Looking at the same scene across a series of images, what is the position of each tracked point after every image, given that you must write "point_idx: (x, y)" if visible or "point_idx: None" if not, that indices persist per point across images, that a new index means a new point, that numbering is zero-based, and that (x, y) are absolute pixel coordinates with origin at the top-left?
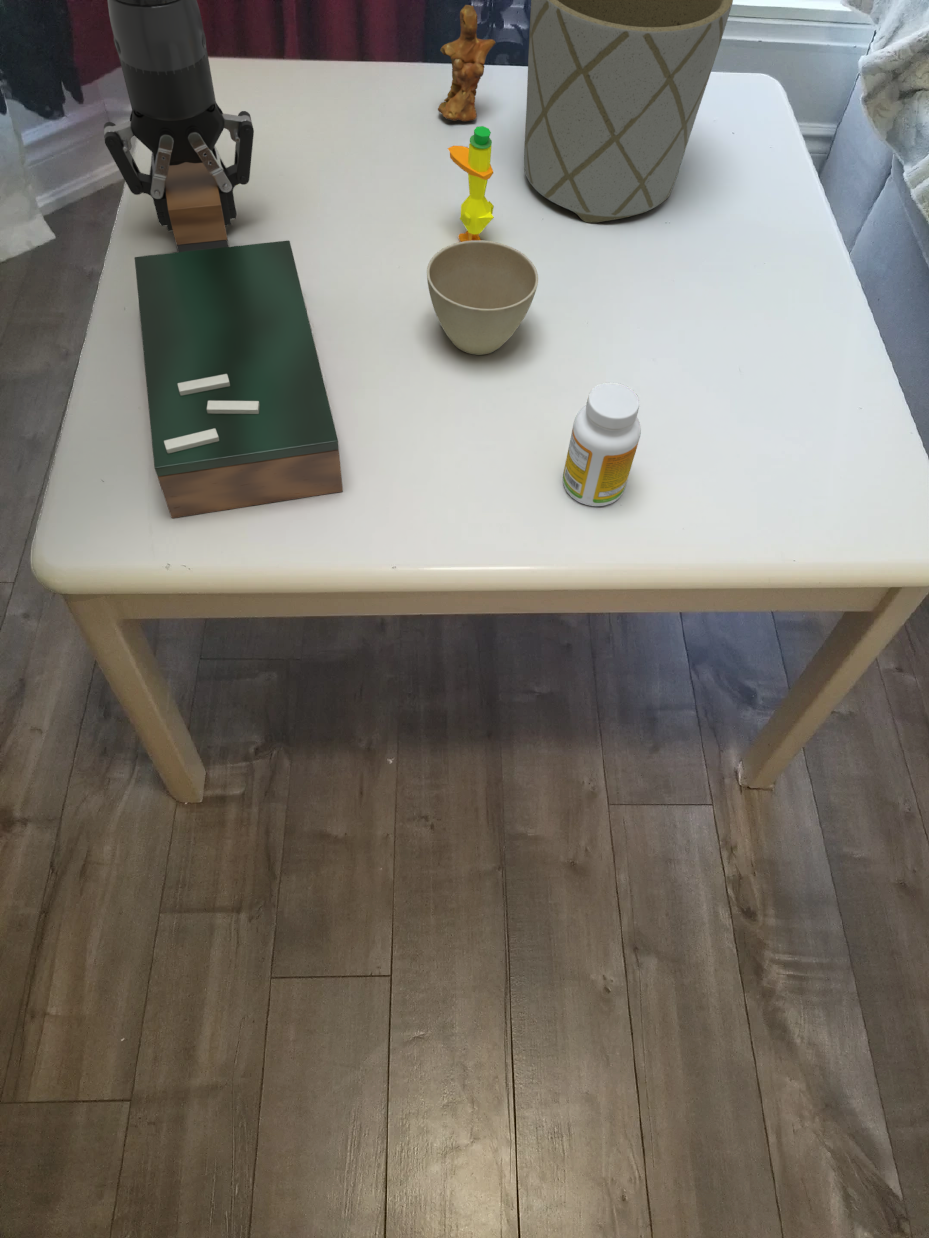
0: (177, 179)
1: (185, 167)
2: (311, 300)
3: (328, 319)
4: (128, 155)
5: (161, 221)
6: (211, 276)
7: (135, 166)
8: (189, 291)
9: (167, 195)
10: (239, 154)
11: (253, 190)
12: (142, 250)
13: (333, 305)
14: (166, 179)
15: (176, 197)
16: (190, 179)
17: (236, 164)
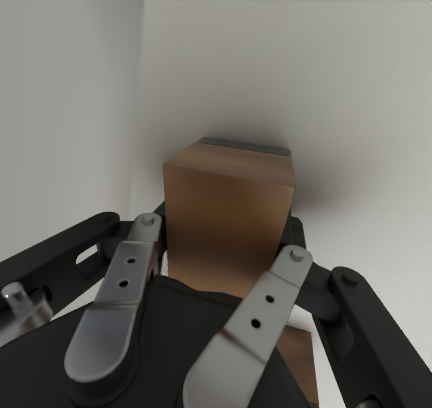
0: (191, 235)
1: (215, 201)
2: (322, 344)
3: (324, 365)
4: (59, 289)
5: None
6: None
7: (94, 244)
8: None
9: (169, 268)
10: (341, 390)
11: (387, 101)
12: (157, 205)
13: None
14: (170, 227)
15: (184, 278)
16: (218, 245)
17: (334, 302)
